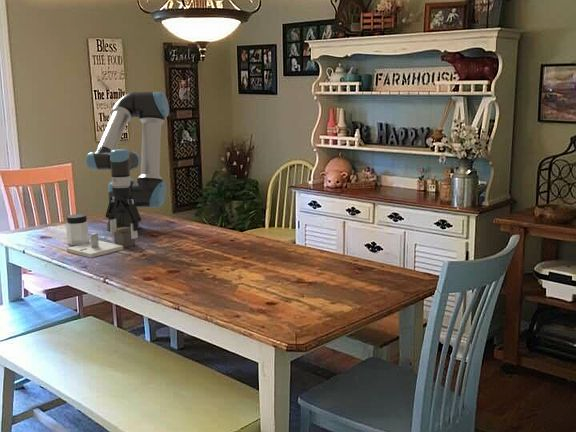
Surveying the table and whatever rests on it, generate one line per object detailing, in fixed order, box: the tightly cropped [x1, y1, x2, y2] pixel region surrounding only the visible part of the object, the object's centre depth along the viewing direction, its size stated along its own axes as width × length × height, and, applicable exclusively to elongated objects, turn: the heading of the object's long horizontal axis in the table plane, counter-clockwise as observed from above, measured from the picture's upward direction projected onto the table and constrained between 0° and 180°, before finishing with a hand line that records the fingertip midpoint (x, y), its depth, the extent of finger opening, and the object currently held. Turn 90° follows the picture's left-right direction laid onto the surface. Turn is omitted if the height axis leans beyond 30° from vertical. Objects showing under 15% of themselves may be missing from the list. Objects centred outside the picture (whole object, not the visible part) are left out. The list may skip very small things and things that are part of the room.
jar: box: [65, 213, 90, 246], centre depth 281 cm, size 9×8×12 cm
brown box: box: [113, 227, 136, 249], centre depth 277 cm, size 7×7×8 cm
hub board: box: [66, 232, 124, 258], centre depth 269 cm, size 16×16×7 cm
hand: (124, 236), depth 276 cm, fingers open, 13 cm apart
